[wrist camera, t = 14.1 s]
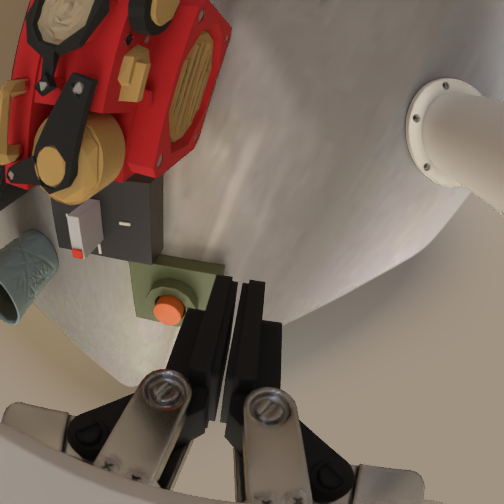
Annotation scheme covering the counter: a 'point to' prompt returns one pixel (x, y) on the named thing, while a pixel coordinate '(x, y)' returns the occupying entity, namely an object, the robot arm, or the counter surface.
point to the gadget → (123, 219)
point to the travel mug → (8, 190)
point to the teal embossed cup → (24, 273)
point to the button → (169, 310)
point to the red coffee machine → (107, 91)
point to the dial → (85, 228)
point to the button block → (172, 283)
